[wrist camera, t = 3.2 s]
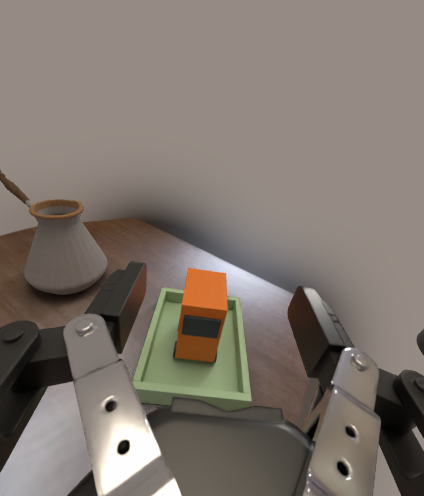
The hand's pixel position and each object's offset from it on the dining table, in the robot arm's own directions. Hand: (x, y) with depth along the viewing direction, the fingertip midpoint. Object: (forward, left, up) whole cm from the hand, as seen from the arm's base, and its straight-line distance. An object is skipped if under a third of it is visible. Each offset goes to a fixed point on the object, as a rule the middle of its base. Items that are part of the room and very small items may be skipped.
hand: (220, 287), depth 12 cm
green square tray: (-6, -9, -20) cm, 23 cm away
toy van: (-6, -9, -19) cm, 22 cm away
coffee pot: (+8, -34, -20) cm, 40 cm away
